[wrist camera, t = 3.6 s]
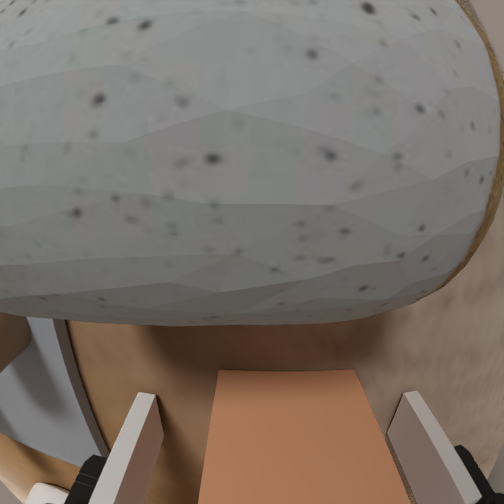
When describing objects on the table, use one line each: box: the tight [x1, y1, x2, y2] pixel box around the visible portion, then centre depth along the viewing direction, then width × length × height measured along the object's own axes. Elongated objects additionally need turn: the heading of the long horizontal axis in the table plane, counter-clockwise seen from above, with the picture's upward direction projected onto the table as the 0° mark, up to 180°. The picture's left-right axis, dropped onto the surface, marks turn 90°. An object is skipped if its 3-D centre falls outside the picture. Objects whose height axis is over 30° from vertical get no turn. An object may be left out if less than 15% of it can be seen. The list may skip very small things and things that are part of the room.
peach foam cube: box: [198, 369, 411, 504], centre depth 8 cm, size 5×5×7 cm
